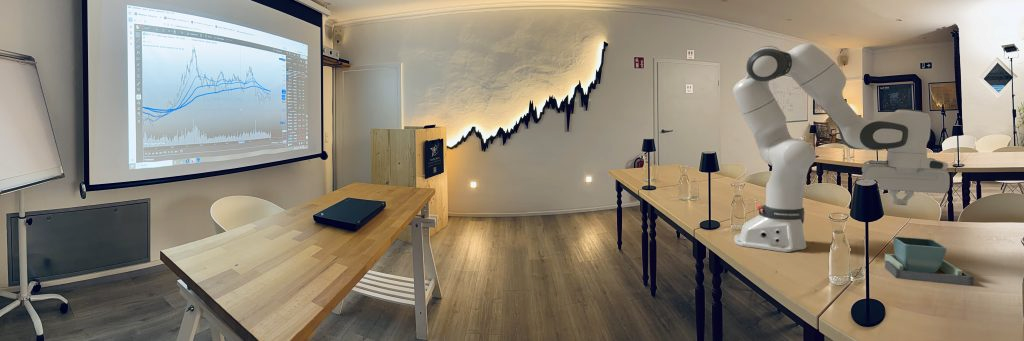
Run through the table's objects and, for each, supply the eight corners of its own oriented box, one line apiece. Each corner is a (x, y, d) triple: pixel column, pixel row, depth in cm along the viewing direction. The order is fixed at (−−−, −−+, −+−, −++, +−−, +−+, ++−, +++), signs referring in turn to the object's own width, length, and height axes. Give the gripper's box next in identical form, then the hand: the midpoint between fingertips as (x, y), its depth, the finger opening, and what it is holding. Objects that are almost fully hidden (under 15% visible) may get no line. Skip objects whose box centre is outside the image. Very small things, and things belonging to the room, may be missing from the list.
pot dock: (896, 278, 111) (896, 270, 110) (884, 268, 118) (885, 260, 118) (972, 286, 104) (973, 277, 103) (955, 275, 111) (956, 266, 111)
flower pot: (929, 268, 117) (932, 238, 116) (945, 279, 109) (947, 247, 108) (890, 264, 121) (892, 236, 120) (902, 274, 113) (904, 244, 112)
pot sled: (898, 275, 112) (900, 255, 111) (882, 260, 123) (883, 242, 123) (961, 281, 106) (963, 260, 106) (937, 265, 117) (939, 246, 117)
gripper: (866, 160, 125) (861, 203, 127) (955, 164, 116) (948, 210, 118) (859, 159, 131) (854, 199, 133) (944, 162, 122) (938, 205, 123)
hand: (899, 204), depth 125 cm, fingers closed
